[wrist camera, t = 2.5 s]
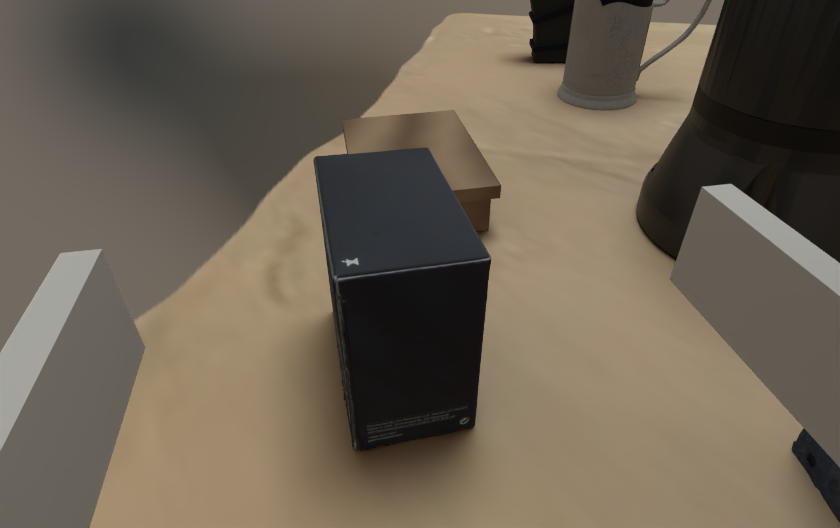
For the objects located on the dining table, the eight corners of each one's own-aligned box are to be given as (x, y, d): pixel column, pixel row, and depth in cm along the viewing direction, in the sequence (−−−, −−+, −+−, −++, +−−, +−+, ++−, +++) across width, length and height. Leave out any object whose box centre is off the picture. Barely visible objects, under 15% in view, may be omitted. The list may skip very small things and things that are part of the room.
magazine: (644, 50, 69) (615, -72, 61) (545, 94, 73) (506, -16, 65) (636, 42, 72) (607, -76, 64) (542, 84, 76) (503, -22, 68)
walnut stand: (453, 151, 51) (453, 110, 48) (496, 233, 40) (501, 185, 37) (346, 161, 49) (342, 119, 47) (361, 249, 38) (356, 200, 36)
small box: (485, 429, 26) (502, 257, 20) (352, 457, 25) (325, 284, 19) (432, 292, 34) (432, 139, 28) (330, 309, 33) (306, 154, 27)
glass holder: (551, 82, 65) (571, -62, 56) (671, 82, 65) (710, -63, 55) (563, 109, 58) (588, -49, 49) (697, 110, 58) (747, -51, 48)
